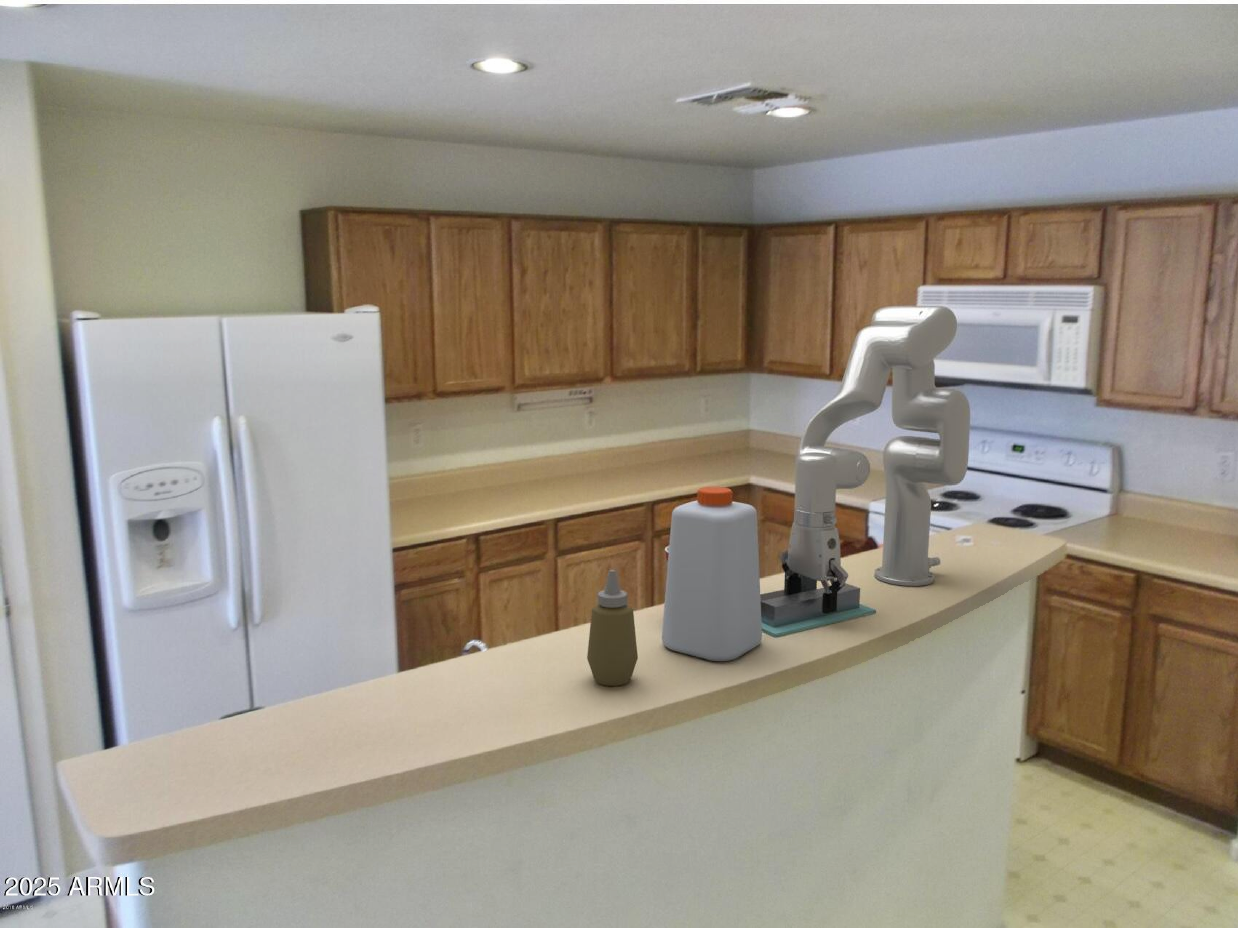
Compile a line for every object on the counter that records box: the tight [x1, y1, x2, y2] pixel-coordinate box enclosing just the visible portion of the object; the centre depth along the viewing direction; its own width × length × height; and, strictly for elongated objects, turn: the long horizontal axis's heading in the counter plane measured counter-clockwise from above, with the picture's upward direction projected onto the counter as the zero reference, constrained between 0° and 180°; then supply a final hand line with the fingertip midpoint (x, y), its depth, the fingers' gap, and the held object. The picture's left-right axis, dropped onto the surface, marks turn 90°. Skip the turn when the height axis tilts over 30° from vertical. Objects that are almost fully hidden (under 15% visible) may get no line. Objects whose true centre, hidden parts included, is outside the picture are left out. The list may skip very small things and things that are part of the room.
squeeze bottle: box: [586, 569, 639, 687], centre depth 142 cm, size 8×8×18 cm
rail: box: [761, 582, 861, 628], centre depth 173 cm, size 22×4×4 cm, turn 122°
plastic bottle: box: [661, 486, 763, 662], centre depth 157 cm, size 15×15×28 cm
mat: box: [762, 603, 877, 638], centre depth 173 cm, size 26×9×1 cm, turn 122°
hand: (811, 605), depth 173 cm, fingers open, 9 cm apart
